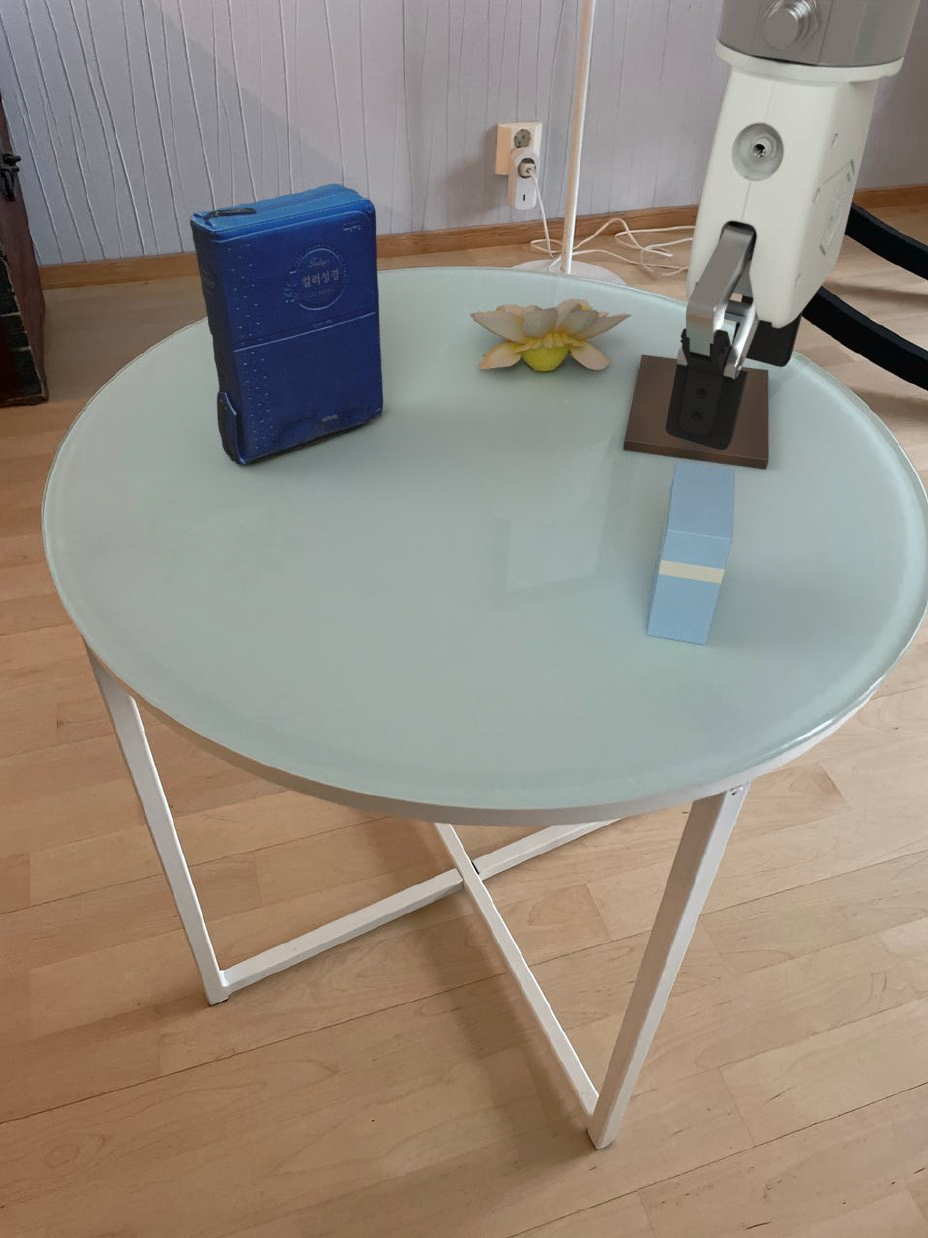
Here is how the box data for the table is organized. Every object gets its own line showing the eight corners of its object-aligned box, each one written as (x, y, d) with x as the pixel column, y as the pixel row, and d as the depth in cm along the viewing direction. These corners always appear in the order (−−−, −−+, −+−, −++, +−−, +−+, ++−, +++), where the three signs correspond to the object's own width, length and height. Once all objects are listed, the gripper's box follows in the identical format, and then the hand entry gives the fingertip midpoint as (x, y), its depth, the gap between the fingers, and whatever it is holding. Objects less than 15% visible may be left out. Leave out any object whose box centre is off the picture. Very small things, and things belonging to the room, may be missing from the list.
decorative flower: (618, 312, 101) (626, 224, 93) (632, 390, 95) (642, 303, 86) (470, 321, 101) (465, 234, 93) (474, 398, 95) (469, 313, 87)
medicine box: (710, 572, 73) (735, 468, 67) (706, 645, 67) (732, 539, 61) (655, 563, 74) (675, 460, 68) (646, 635, 68) (666, 529, 62)
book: (241, 478, 81) (203, 230, 68) (212, 448, 84) (171, 206, 71) (390, 426, 87) (382, 190, 74) (358, 400, 91) (345, 170, 77)
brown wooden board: (766, 379, 95) (768, 369, 95) (766, 469, 84) (768, 459, 83) (640, 363, 97) (641, 353, 96) (623, 449, 85) (624, 439, 85)
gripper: (856, 80, 33) (747, 502, 45) (951, -6, 44) (844, 349, 56) (646, 47, 36) (594, 453, 47) (786, -26, 47) (716, 317, 59)
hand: (730, 396), depth 52 cm, fingers open, 9 cm apart
